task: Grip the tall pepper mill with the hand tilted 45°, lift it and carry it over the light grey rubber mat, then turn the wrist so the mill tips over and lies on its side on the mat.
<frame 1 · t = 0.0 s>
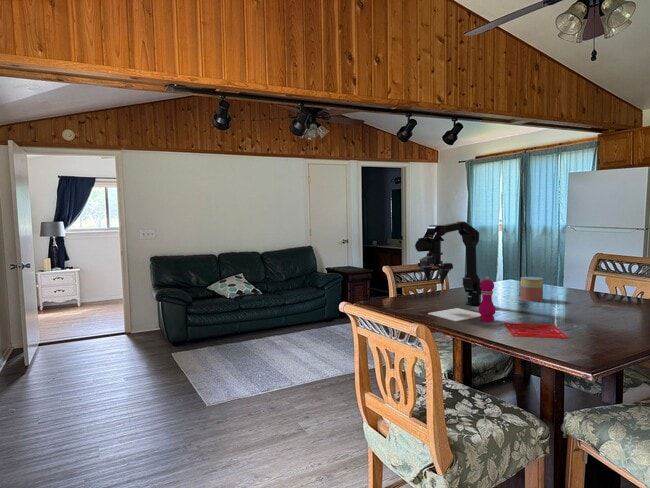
hand: (434, 282, 213), 15 cm above the table, tool pointing down, fingers open, 9 cm apart
grey mat: (456, 314, 206), on the table
canned food: (531, 300, 238), on the table
maze puzzle: (534, 332, 177), on the table
pepper mill: (486, 320, 195), on the table
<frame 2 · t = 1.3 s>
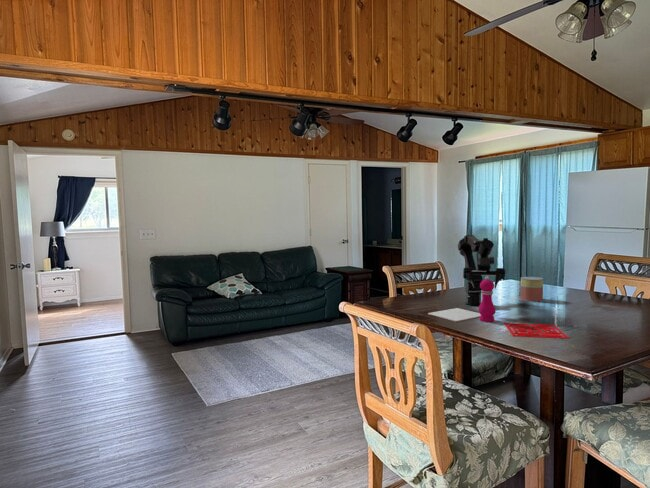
hand: (484, 287, 201), 13 cm above the table, tool tilted 45°, fingers open, 9 cm apart
nothing on the table moved.
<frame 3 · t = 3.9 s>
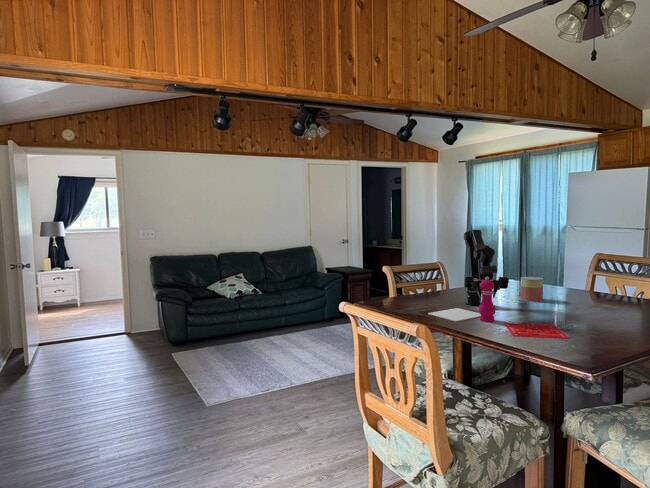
hand: (487, 297, 192), 11 cm above the table, tool tilted 45°, fingers closed on pepper mill, 5 cm apart
pepper mill: (486, 320, 195), on the table, touching gripper
everything else where it was.
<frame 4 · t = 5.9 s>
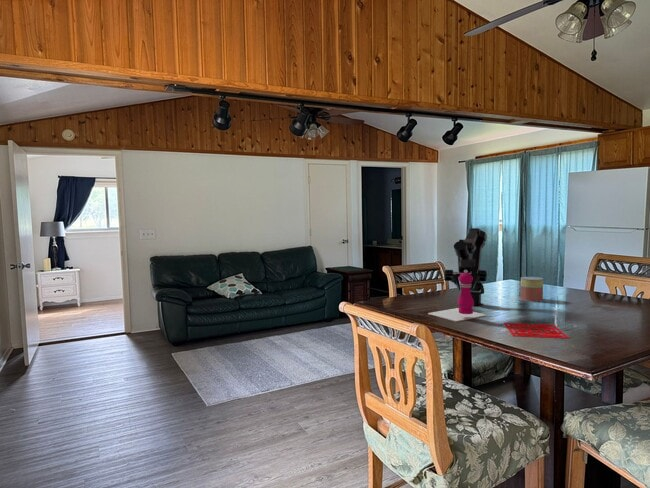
hand: (465, 290, 196), 13 cm above the table, tool tilted 45°, fingers closed on pepper mill, 5 cm apart
pepper mill: (465, 313, 198), point 3 cm above the table, touching gripper
everything else where it was.
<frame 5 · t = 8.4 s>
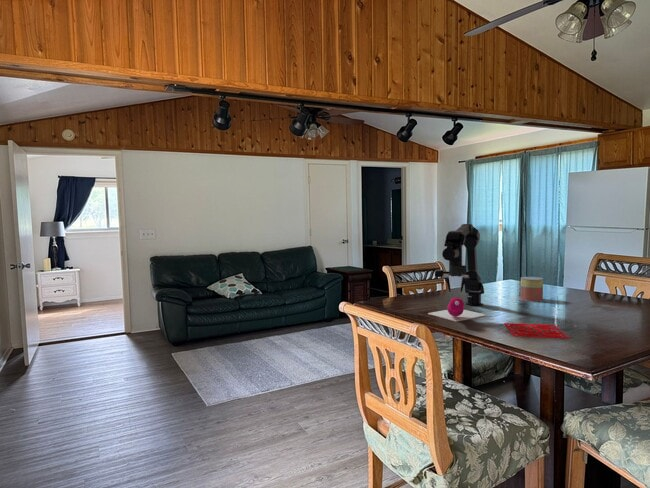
hand: (455, 292, 200), 12 cm above the table, tool pointing down, fingers open, 5 cm apart
pepper mill: (454, 309, 202), point 3 cm above the table
everything else where it was.
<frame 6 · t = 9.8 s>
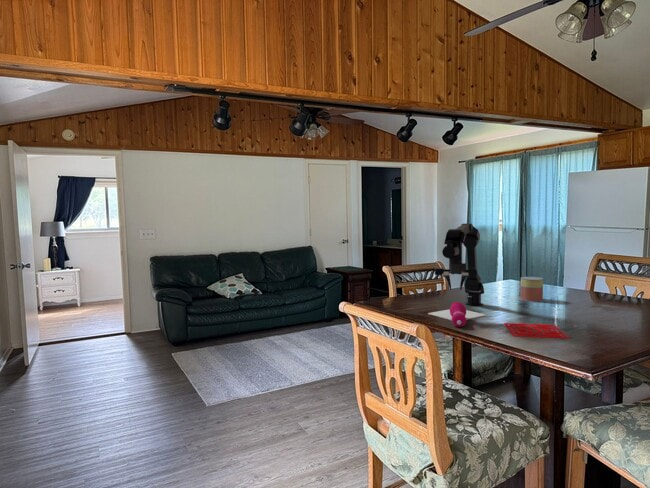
hand: (455, 289, 200), 13 cm above the table, tool pointing down, fingers open, 4 cm apart
pepper mill: (457, 308, 200), point 4 cm above the table, touching grey mat
everything else where it was.
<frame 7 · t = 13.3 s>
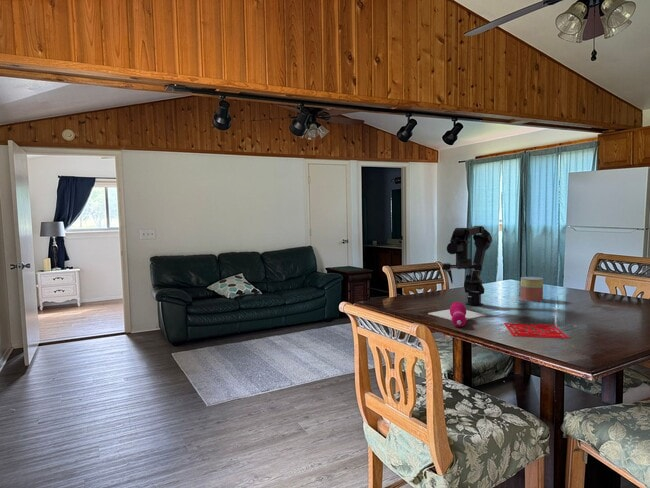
hand: (461, 283, 217), 13 cm above the table, tool pointing down, fingers open, 9 cm apart
nothing on the table moved.
at the end: pepper mill tilted 96°; pepper mill inside the target area (2.0 cm from its centre), point 4.5 cm above the table; pepper mill moved 13.6 cm from its start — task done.
